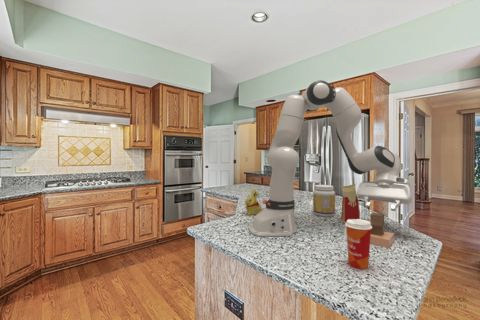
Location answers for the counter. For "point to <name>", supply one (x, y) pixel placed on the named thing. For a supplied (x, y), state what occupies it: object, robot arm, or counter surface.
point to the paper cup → (358, 242)
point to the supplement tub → (324, 200)
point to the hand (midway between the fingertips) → (380, 208)
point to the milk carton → (350, 204)
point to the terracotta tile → (382, 239)
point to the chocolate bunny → (253, 203)
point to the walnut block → (377, 224)
